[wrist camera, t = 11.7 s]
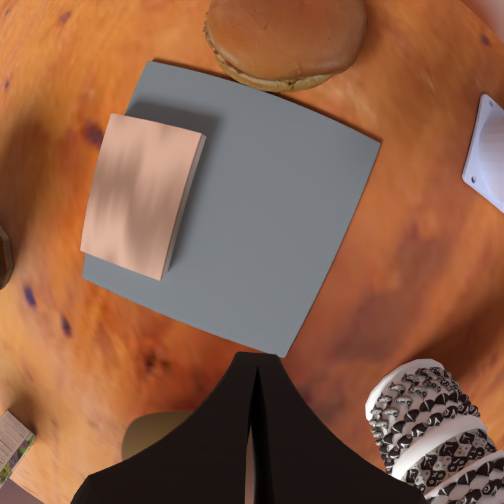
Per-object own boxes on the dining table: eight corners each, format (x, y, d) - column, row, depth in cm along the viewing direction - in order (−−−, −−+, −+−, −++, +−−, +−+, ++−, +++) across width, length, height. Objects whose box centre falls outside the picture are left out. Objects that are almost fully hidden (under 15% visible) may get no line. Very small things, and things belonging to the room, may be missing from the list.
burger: (243, 116, 17) (238, 97, 13) (191, 11, 15) (175, -24, 11) (379, 72, 16) (409, 48, 11) (318, -25, 14) (329, -60, 9)
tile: (160, 280, 18) (80, 250, 17) (167, 272, 19) (92, 244, 19) (201, 133, 15) (111, 113, 15) (206, 136, 17) (122, 117, 17)
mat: (378, 144, 17) (380, 143, 17) (283, 354, 21) (284, 358, 20) (150, 62, 16) (148, 60, 16) (84, 275, 20) (81, 277, 19)
